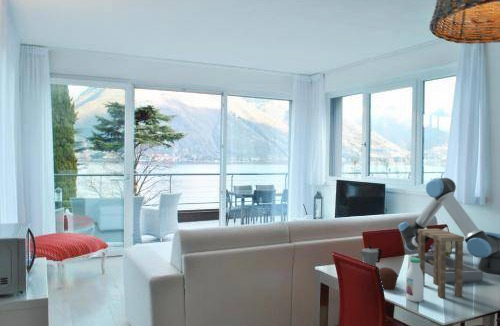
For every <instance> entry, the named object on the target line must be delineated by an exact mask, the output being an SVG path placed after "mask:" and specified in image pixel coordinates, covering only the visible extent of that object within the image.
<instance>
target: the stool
mask: <svg viewBox="0 0 500 326" xmlns="http://www.w3.org/2000/svg"><path fill="white" fill-rule="evenodd" d="M425 236H428V237H430V238H433V239H432V240H433V244H434V272H433V277H432V278H433V279H432V281H433V282H432V283H433V284H434V285H435V286H437V297H438V298H441V299H445V298H446V284H445V279H446V241H452V242H455V244H454V246H455V249H454V250H455V251H454V260H455V283H454V296H455V297H456V298H463V283H462V276H463V263H464V261H463V260H464V241H465V236H464V235H463V236H462V235H459V234H456V233H453V232H450V231H448V232H447V231H444V230H442V229H440V228H427V229H418V249H417V256H418V258H419V259H420V268H421V270H422V273H423V278H424V286H425V279H426V278H425V274H426V273H425V256H426V244H425Z"/></svg>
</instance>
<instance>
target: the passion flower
mask: <svg viewBox="0 0 500 326" xmlns="http://www.w3.org/2000/svg"><path fill="white" fill-rule="evenodd" d="M429 247H430V249H427V252H429V253H430V252H432V254H431V255H434V242H433V243H430V246H429ZM446 256H447V257H450V253H448V251H447V249H446Z"/></svg>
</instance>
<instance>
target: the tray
mask: <svg viewBox="0 0 500 326" xmlns="http://www.w3.org/2000/svg"><path fill="white" fill-rule="evenodd" d="M410 258H418V255H411V256H410ZM428 260H432V261H434V255H432V254H431V255H430V254H429V255H425V274H427V275H428V276H430V277H432V278H433V272H434V266H433V265H431V264H429V263H428V262H427V261H428ZM446 267H447V268H449V269H450V270H455V258H451V257H450V256H448V257H447V256H446ZM483 272H484V271H481V270H479V269H478V268H475V267H473V266H471V265H468V264H466V263H464V262H463V276H462V284H470V283H471V284H473V283H474V284H475V283H483ZM447 284H455V272H446V279H445V285H447Z"/></svg>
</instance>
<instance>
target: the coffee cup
mask: <svg viewBox="0 0 500 326" xmlns="http://www.w3.org/2000/svg"><path fill="white" fill-rule="evenodd" d="M452 244H453V241H446V249H447V251H448V253H449V254H450V253H451V252H452Z"/></svg>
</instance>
